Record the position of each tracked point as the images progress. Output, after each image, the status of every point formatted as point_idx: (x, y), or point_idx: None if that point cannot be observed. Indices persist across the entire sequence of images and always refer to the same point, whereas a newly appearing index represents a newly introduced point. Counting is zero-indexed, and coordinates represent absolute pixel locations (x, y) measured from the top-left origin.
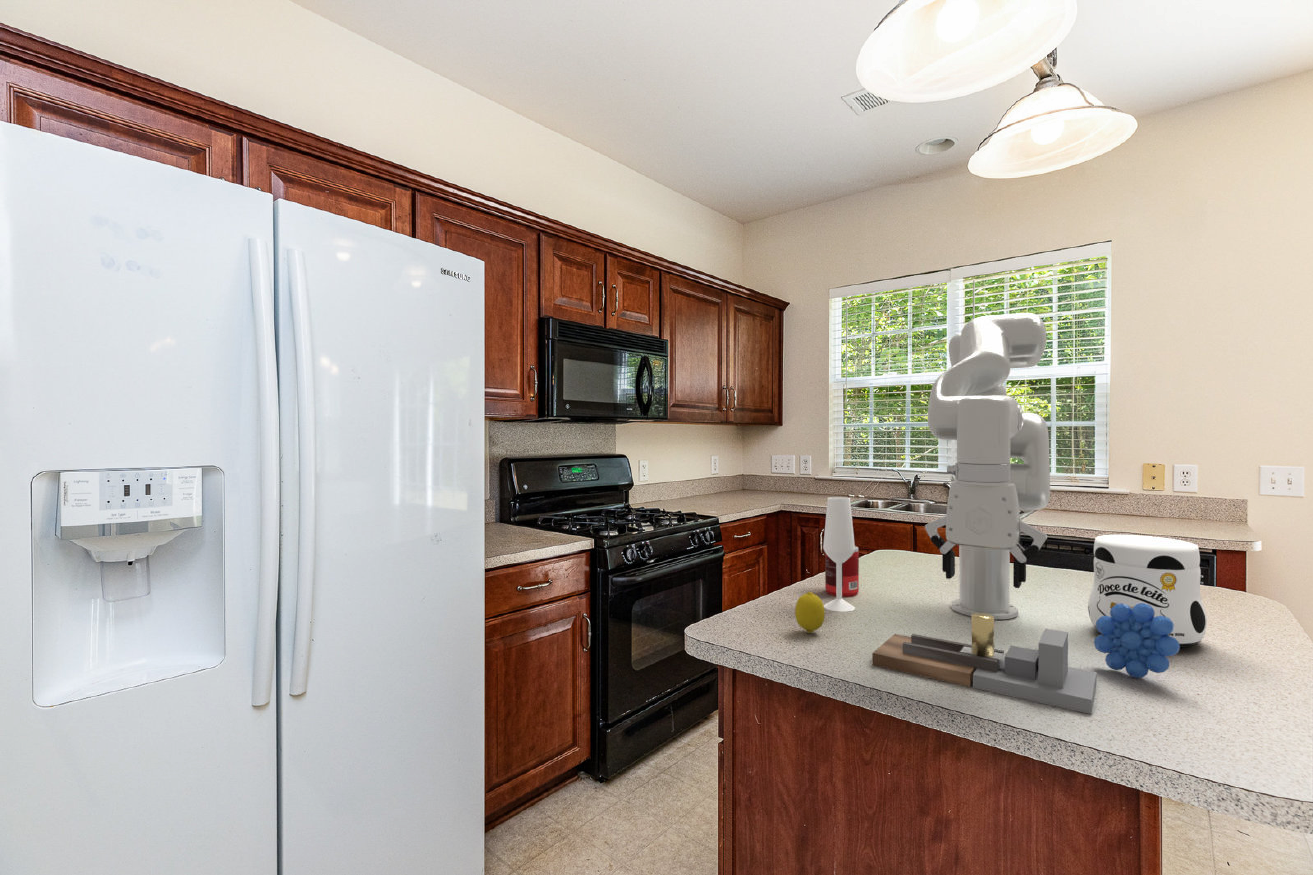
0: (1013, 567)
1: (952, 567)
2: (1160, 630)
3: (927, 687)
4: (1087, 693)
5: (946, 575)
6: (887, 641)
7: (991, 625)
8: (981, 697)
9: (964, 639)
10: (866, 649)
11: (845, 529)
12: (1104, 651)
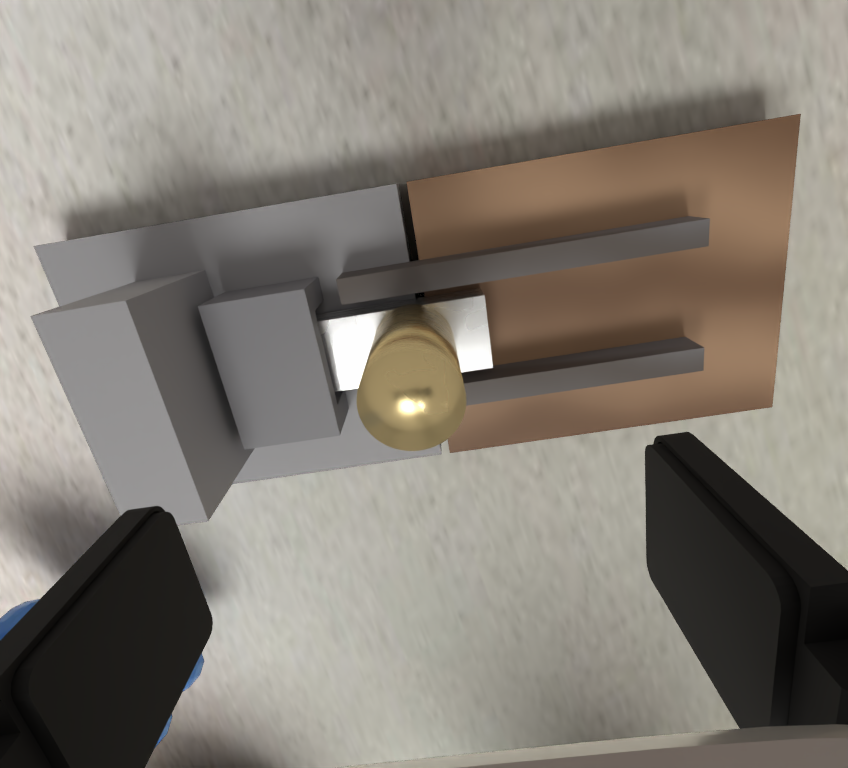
0: (59, 633)
1: (685, 553)
2: None
3: (520, 54)
4: (69, 295)
5: (691, 439)
6: (776, 304)
7: (363, 371)
8: (345, 114)
9: (565, 583)
10: (828, 273)
11: None
12: None
